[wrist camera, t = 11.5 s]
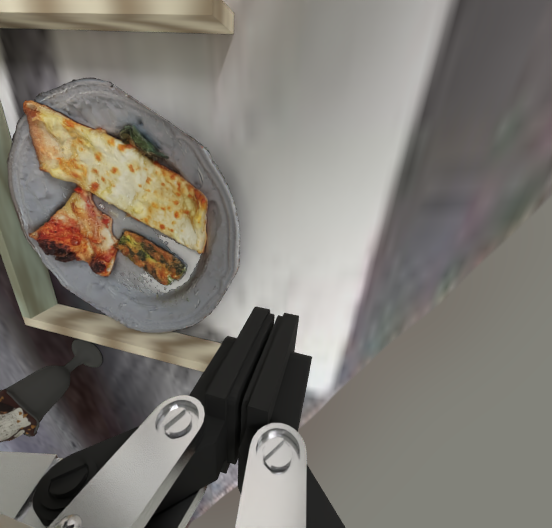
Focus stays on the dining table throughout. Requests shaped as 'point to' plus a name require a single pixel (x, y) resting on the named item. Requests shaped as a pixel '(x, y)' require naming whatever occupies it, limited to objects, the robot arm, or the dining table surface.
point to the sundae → (40, 393)
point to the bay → (3, 218)
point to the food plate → (122, 204)
